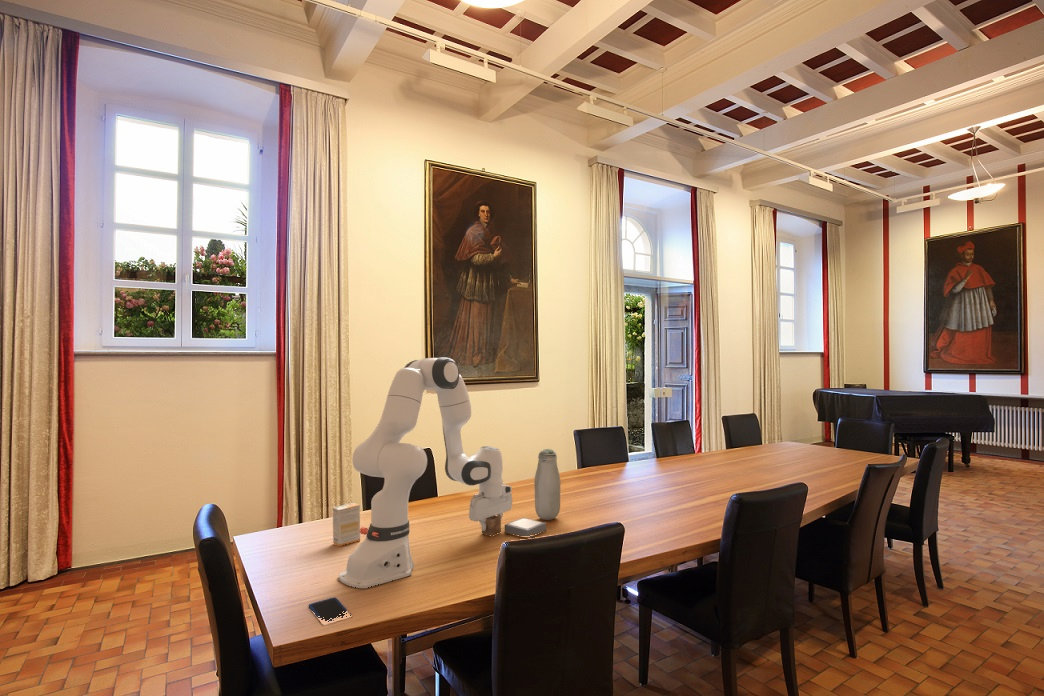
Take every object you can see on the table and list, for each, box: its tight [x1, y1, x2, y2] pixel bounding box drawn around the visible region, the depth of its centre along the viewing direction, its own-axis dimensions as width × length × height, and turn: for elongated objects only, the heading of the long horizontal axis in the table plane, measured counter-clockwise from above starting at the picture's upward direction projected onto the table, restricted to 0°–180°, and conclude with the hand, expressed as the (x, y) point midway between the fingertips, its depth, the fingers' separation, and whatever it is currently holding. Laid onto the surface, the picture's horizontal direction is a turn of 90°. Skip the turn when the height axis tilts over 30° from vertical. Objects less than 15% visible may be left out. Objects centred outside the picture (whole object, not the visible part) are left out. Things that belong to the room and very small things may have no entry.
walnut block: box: [481, 515, 502, 537], centre depth 198 cm, size 5×5×6 cm
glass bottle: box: [534, 448, 561, 521], centre depth 216 cm, size 10×10×28 cm
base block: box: [504, 517, 547, 539], centre depth 200 cm, size 11×11×3 cm
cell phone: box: [308, 596, 352, 622], centre depth 138 cm, size 7×14×1 cm, turn 37°
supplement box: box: [332, 502, 361, 547], centre depth 190 cm, size 8×5×13 cm, turn 135°
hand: (491, 527), depth 198 cm, fingers open, 6 cm apart
